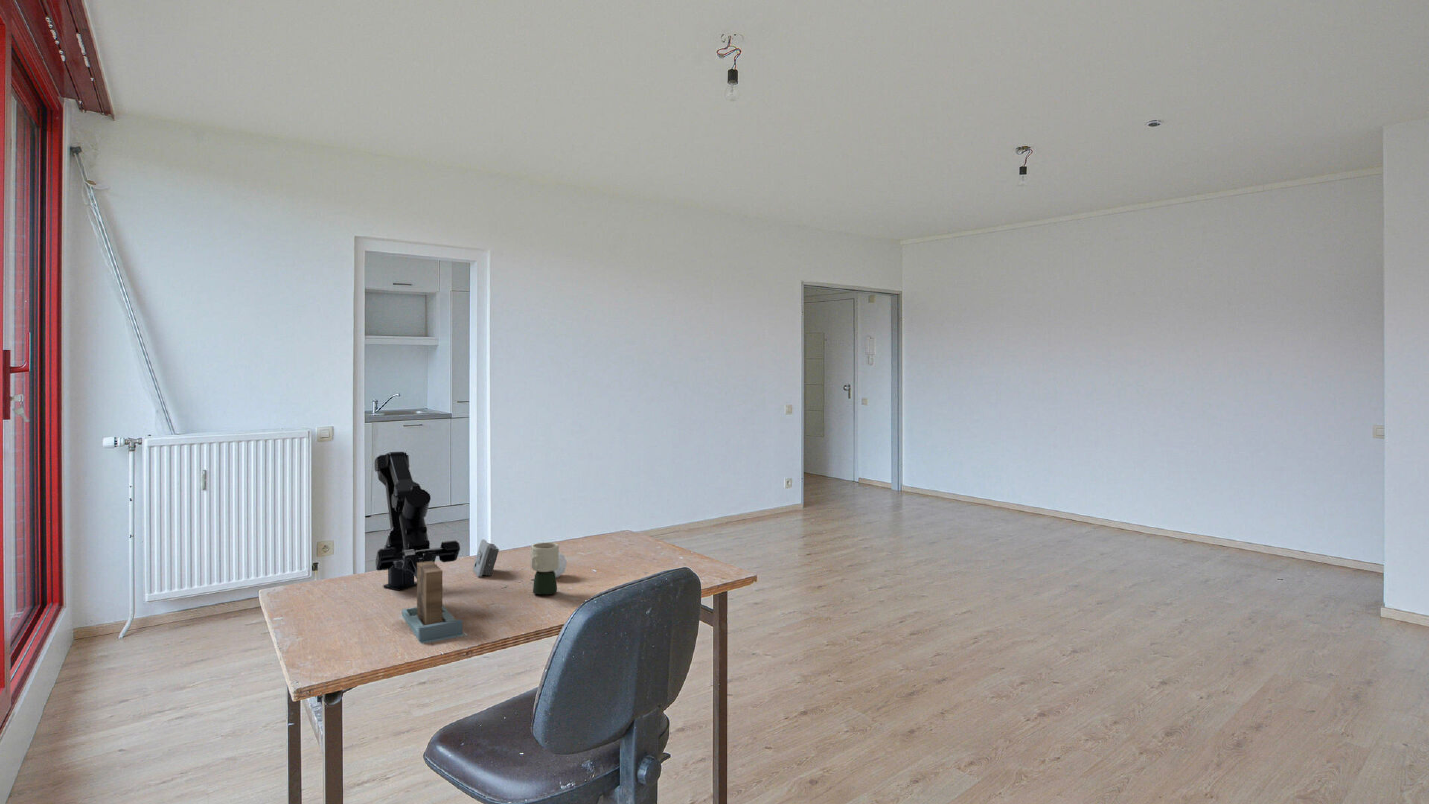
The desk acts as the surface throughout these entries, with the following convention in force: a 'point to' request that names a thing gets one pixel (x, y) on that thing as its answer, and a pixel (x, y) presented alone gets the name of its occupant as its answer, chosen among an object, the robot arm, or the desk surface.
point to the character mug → (545, 567)
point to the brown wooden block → (429, 593)
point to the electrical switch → (485, 559)
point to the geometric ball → (560, 565)
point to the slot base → (433, 626)
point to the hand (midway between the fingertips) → (423, 585)
